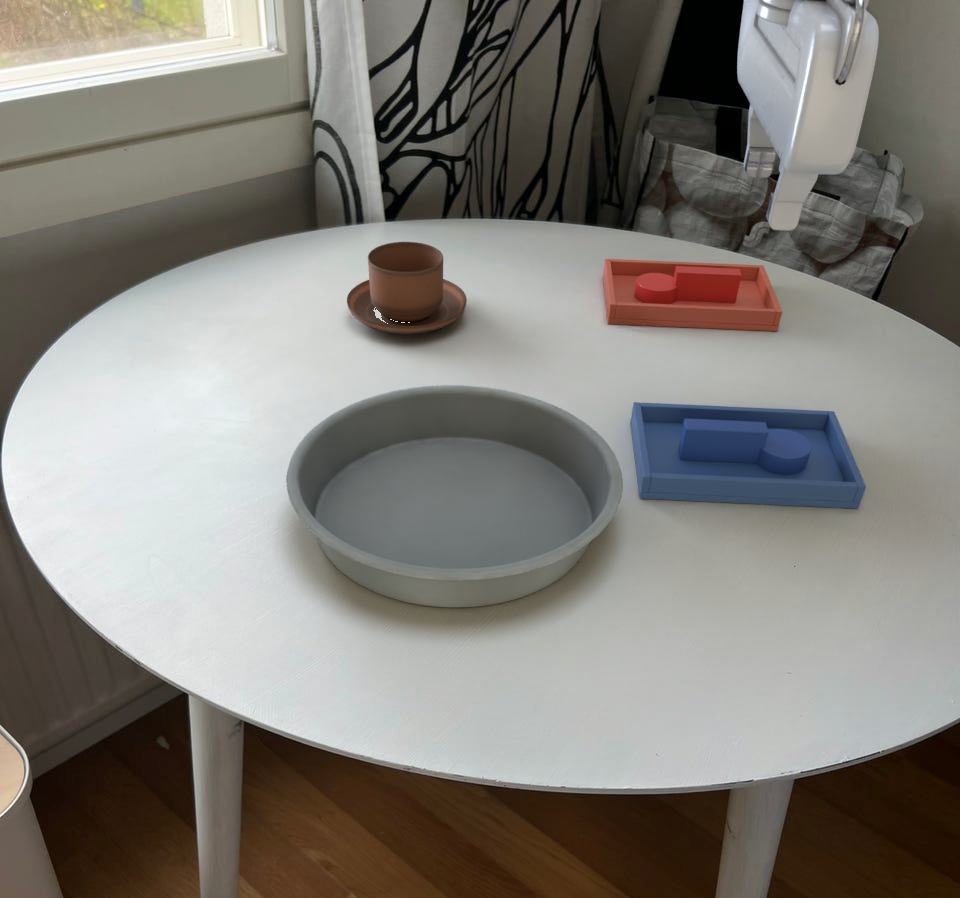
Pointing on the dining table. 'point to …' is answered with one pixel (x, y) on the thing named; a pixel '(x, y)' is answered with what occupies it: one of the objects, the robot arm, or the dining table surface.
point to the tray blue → (670, 478)
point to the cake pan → (454, 493)
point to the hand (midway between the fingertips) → (767, 199)
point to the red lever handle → (689, 285)
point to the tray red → (748, 313)
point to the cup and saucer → (406, 290)
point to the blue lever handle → (744, 444)
